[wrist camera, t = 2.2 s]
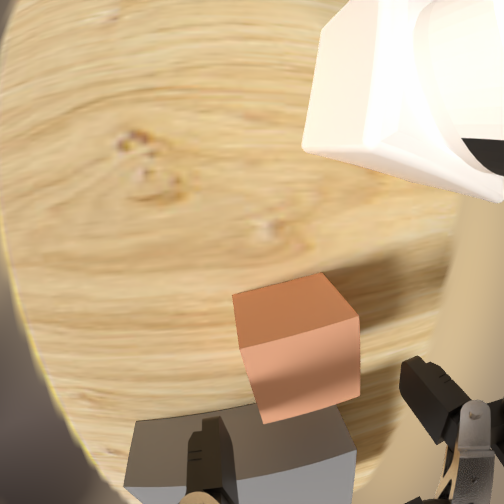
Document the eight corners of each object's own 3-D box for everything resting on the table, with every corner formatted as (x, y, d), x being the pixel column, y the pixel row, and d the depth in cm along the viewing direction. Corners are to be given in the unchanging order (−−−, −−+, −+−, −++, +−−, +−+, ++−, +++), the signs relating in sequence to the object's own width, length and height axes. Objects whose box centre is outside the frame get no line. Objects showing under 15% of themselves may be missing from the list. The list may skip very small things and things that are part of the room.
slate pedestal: (135, 421, 18) (123, 486, 13) (326, 384, 19) (356, 449, 13) (198, 497, 23) (199, 544, 17) (332, 471, 24) (349, 517, 18)
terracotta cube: (231, 294, 16) (239, 348, 12) (321, 271, 16) (359, 315, 12) (251, 364, 18) (263, 424, 13) (329, 343, 18) (360, 395, 13)
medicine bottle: (427, 73, 13) (597, 47, 2) (413, 183, 15) (600, 242, 4) (320, 27, 12) (467, -101, 1) (298, 151, 14) (511, 162, 3)
